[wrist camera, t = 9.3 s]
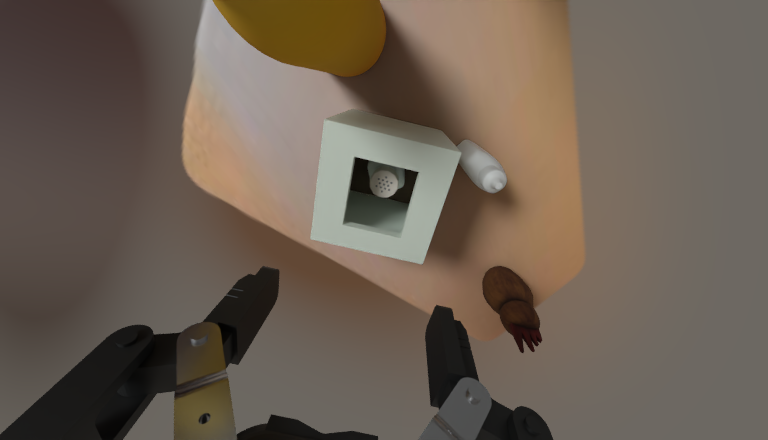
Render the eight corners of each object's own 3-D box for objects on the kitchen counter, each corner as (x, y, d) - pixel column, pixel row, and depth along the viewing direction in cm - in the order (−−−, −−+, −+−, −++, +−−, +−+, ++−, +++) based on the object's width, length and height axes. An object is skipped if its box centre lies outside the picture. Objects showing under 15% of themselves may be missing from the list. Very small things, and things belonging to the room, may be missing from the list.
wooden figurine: (470, 277, 46) (498, 356, 32) (494, 254, 43) (535, 328, 30) (500, 296, 47) (539, 379, 33) (525, 274, 45) (578, 354, 31)
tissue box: (353, 108, 35) (324, 119, 23) (441, 130, 36) (461, 152, 23) (339, 192, 40) (310, 239, 28) (417, 210, 41) (422, 264, 28)
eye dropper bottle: (484, 132, 35) (519, 151, 25) (490, 172, 38) (525, 206, 27) (451, 142, 36) (471, 164, 25) (459, 181, 38) (480, 216, 28)
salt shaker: (399, 145, 37) (398, 162, 28) (405, 173, 39) (405, 197, 30) (371, 152, 38) (361, 170, 29) (378, 179, 39) (371, 204, 31)
